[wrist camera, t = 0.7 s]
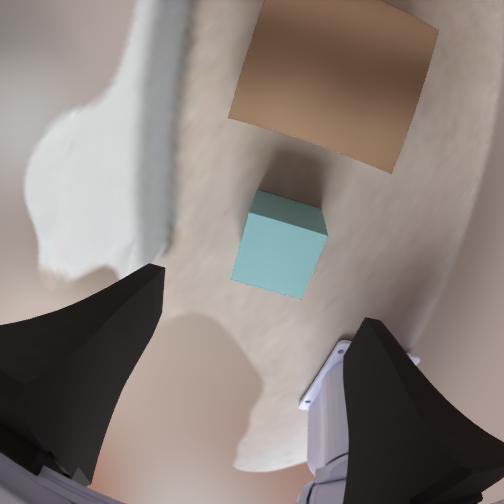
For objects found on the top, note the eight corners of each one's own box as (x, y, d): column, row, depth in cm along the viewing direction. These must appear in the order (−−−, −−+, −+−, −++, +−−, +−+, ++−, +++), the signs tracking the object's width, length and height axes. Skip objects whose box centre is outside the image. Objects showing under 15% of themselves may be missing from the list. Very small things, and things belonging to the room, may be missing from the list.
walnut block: (371, 158, 17) (391, 174, 13) (241, 114, 17) (227, 117, 13) (410, 41, 13) (438, 30, 10) (279, -7, 13) (276, -32, 10)
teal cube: (300, 263, 20) (301, 299, 17) (241, 246, 20) (230, 279, 17) (321, 208, 19) (327, 235, 15) (257, 189, 19) (249, 212, 15)
